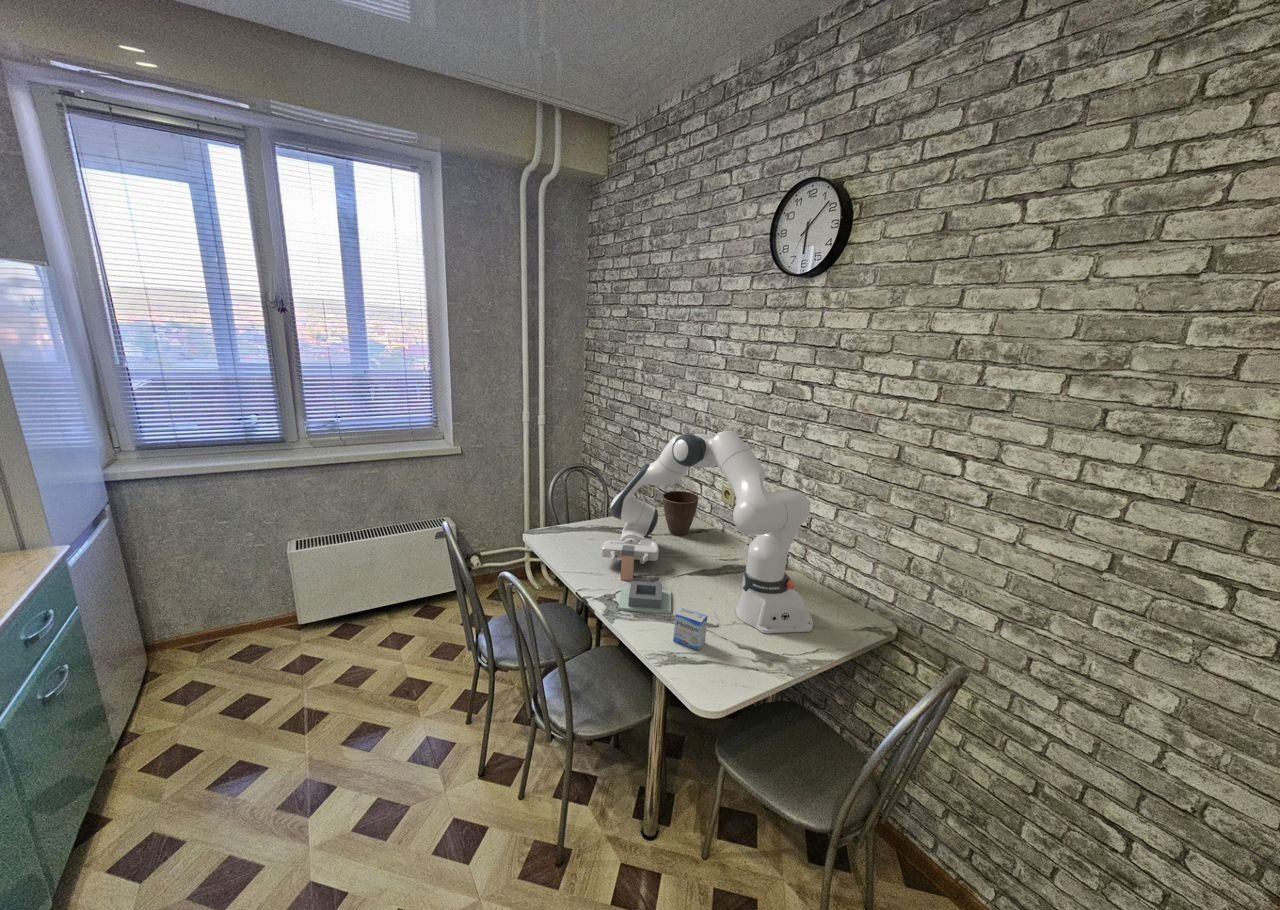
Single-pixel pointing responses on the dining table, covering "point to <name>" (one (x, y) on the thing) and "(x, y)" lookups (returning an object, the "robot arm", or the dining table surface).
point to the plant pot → (679, 511)
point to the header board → (664, 602)
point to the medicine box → (690, 628)
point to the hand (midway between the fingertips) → (628, 561)
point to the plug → (627, 562)
